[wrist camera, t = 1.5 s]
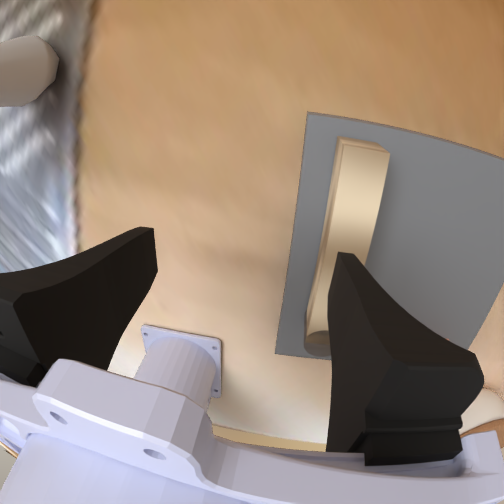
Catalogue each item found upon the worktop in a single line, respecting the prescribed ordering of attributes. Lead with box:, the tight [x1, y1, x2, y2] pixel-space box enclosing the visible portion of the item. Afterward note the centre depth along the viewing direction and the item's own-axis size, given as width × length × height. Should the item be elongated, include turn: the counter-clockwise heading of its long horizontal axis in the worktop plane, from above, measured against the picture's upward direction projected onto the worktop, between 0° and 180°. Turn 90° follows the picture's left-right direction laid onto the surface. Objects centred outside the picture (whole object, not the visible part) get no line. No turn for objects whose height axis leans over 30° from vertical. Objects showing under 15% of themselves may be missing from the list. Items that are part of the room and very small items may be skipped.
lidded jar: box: [459, 388, 504, 448], centre depth 27 cm, size 11×11×9 cm
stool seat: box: [275, 112, 504, 360], centre depth 21 cm, size 19×18×5 cm
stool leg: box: [304, 136, 390, 357], centre depth 19 cm, size 14×3×3 cm, turn 176°
